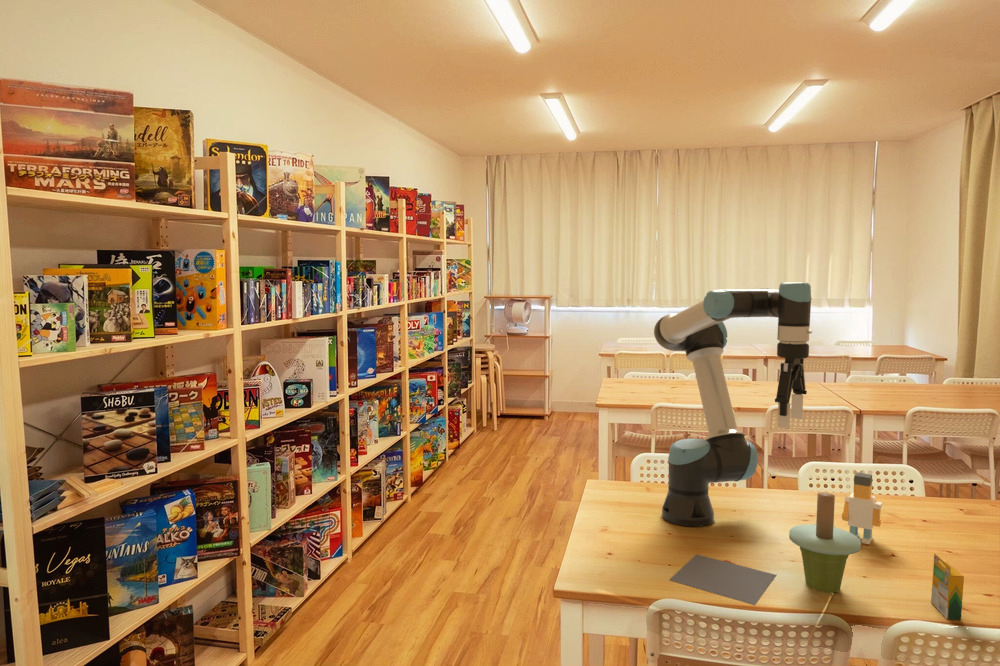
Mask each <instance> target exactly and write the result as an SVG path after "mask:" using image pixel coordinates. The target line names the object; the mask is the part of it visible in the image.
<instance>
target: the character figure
mask: <svg viewBox="0 0 1000 666" xmlns="http://www.w3.org/2000/svg"><path fill="white" fill-rule="evenodd" d="M853 476H854V477H853V478H854V479H853V492H851V493H850V495H849V496H845V497H844V505H843V512H842V514H841V519H842V521H844V522H847V526H849V532H850V533H852V534H854V535H855V536H857V537H858V538H859V528H861V529H863V534H862V535H863V536H862V539H861V544H867V545H869V544H871V542H872V540H873V535H872V534H873V528H874V527H879V528H880V527H881V525H882V519H881V513H882V511H881V509H882V507H883V502H882V501H876V496H875V495H872V489H873V488H872V487H873V474H870V473H864V472H859V471H858V472H857V471H856V472H855V474H854V475H853Z"/></svg>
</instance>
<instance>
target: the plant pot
mask: <svg viewBox="0 0 1000 666" xmlns="http://www.w3.org/2000/svg"><path fill="white" fill-rule="evenodd" d="M799 550H800V552H801V557H802V558H801V559H802V565H803V571H804V572H803V573H804V581H805V584H806V586H807V587H809V588H810V589H813V590H814V591H818V592H822V593H830V594H832V595H833V594H835V593H839V592H840V590H841V586H842V582H843V577H844V573H845V569H846V565H847V560H848V559H849V556H850V555H829V554H822V553H817V552H813V551H810V550H807V549H804V548H802V547H800V546H799Z"/></svg>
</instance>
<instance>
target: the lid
mask: <svg viewBox="0 0 1000 666" xmlns="http://www.w3.org/2000/svg"><path fill="white" fill-rule="evenodd" d="M816 497H817V499H816V500H817V501H816V503H817V504H816V524H813V523H807V524H798V525H795V526H793V527H791V528H790V529H789V533H788V534H789V536H788V538H789V540H790V541H791V542H792V543H793V544H794V545H796V546H798V547H799V548H800V547H802V548H804V549H807V550H810V551H813V552H817V553H822V554H829V555H849V556H850V555H853V554H857V553H858V552H860V551H861V548H862V547H861V545H862V540H861V539H860V538H859V536H858V537H857V536H855V535H854V534H852V533H850V531H847V530H845V529H842V528H838V527H836V526H835V525H834V521H835V504H836V503H835V498H836V496H835V494H833V493H830V492H824V491H823V492H818V493H817V496H816ZM834 526H835V527H834Z"/></svg>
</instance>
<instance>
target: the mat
mask: <svg viewBox="0 0 1000 666" xmlns="http://www.w3.org/2000/svg"><path fill="white" fill-rule="evenodd" d="M776 577H777V574H776V573H775V574H774V573H771V572H766V571H762V570H759V569H755V568H751V567H747V566H743V565H740V564H736V563H731V562H729V561H723V560H721V559H716V558H713V557H709V556H705V555H700V554H698V553H697V554H695V555H694V556H693V557H692V558H690V560H688V561H687V563H685V565H683V566H682V567H681V568H680V569H679V570H677V572H676V573H675V574H674V575H673V576H672V577H671V578H670V579H669V581H670V582H673V583H677V584H681V585H685V586H688V587H691V588H695V589H698V590H701V591H705V592H708V593H712V594H715V595H718V596H721V597H725V598H728V599H733V600H735V601H739V602H742V603H746V604H749V605H754V606H756V604H757V603H758V602H759V600H760V598H761V597H762V596H763V595H764V594H765V592H766V590H767V589H768V587H769V586H770V585H771V584H772V582H773V580H774V579H775V578H776Z"/></svg>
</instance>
